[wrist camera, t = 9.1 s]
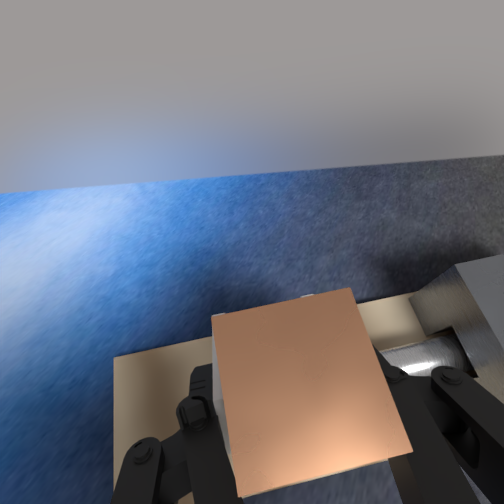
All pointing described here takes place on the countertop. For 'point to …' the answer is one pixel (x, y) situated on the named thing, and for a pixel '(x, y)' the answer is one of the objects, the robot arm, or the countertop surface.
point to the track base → (200, 353)
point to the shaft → (313, 389)
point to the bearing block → (469, 315)
